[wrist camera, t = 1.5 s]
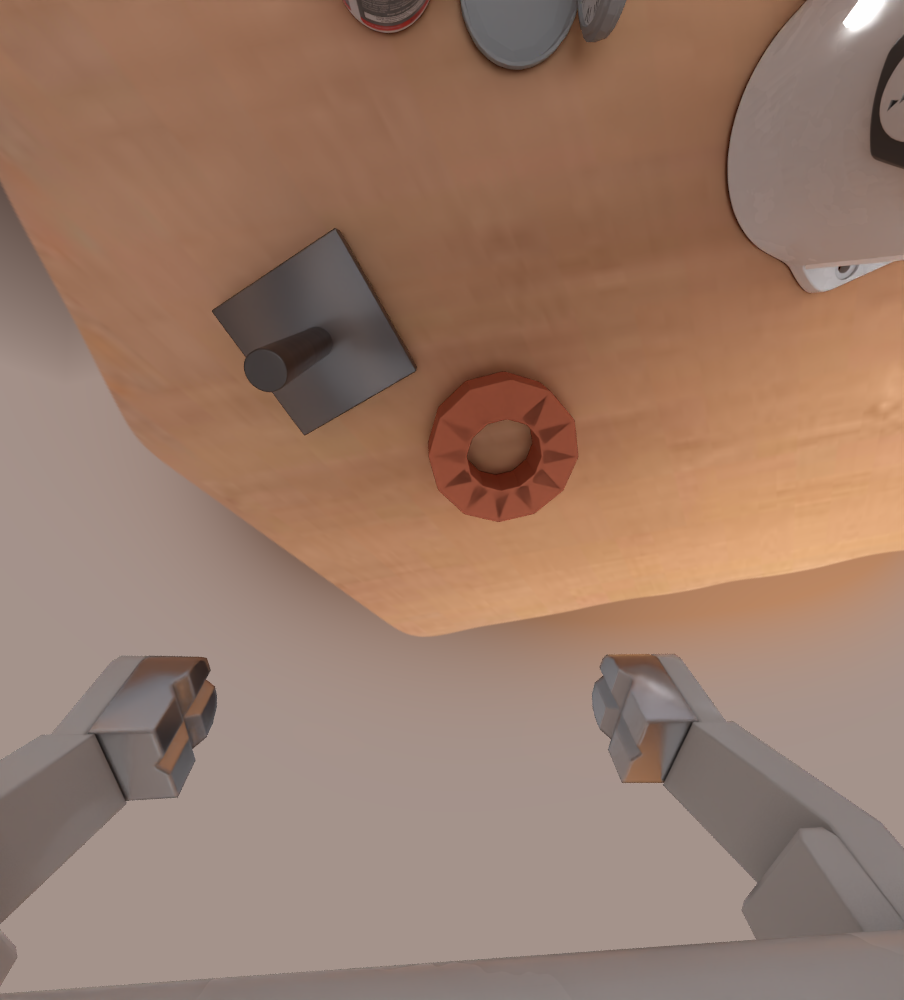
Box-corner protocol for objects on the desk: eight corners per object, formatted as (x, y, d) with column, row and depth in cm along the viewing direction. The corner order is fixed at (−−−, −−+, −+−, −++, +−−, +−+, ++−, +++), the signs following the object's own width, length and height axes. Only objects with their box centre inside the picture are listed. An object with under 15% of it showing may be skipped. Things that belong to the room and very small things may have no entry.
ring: (556, 357, 32) (568, 364, 30) (571, 485, 38) (583, 502, 35) (414, 393, 33) (413, 404, 30) (448, 515, 38) (450, 533, 35)
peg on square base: (339, 230, 28) (283, 194, 17) (417, 367, 32) (413, 411, 21) (220, 309, 30) (98, 324, 19) (308, 430, 34) (252, 501, 23)
